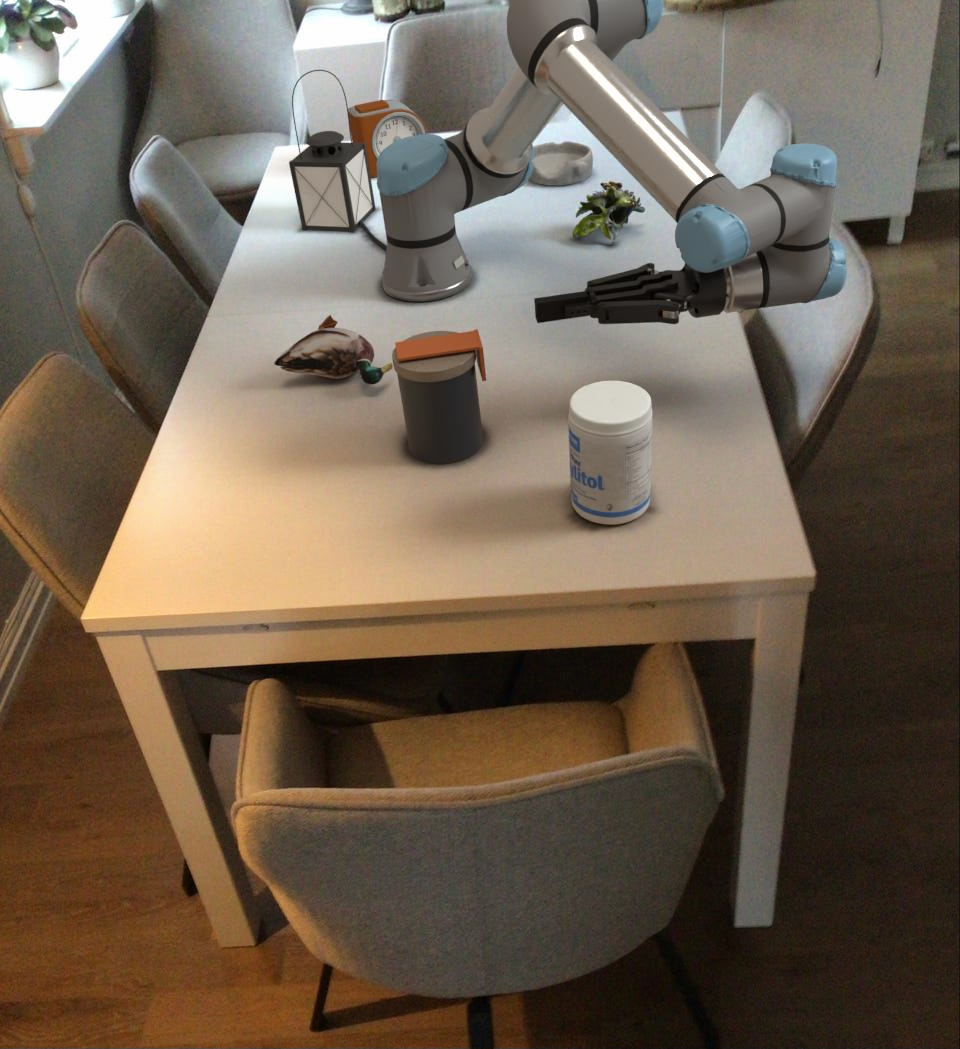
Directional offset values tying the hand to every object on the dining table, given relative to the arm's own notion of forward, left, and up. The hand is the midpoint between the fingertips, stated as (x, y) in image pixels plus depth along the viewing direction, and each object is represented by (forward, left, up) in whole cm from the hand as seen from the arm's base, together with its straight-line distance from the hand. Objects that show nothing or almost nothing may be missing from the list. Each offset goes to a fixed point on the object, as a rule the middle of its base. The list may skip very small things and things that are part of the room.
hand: (536, 310), depth 135 cm
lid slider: (-7, -10, -7) cm, 15 cm away
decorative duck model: (-33, -11, -18) cm, 39 cm away
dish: (-64, +69, -18) cm, 96 cm away
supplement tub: (+18, -7, -18) cm, 26 cm away
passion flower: (-35, +52, -18) cm, 65 cm away
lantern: (-84, +28, -18) cm, 90 cm away
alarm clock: (-98, +53, -18) cm, 113 cm away
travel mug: (-8, -11, -17) cm, 22 cm away
